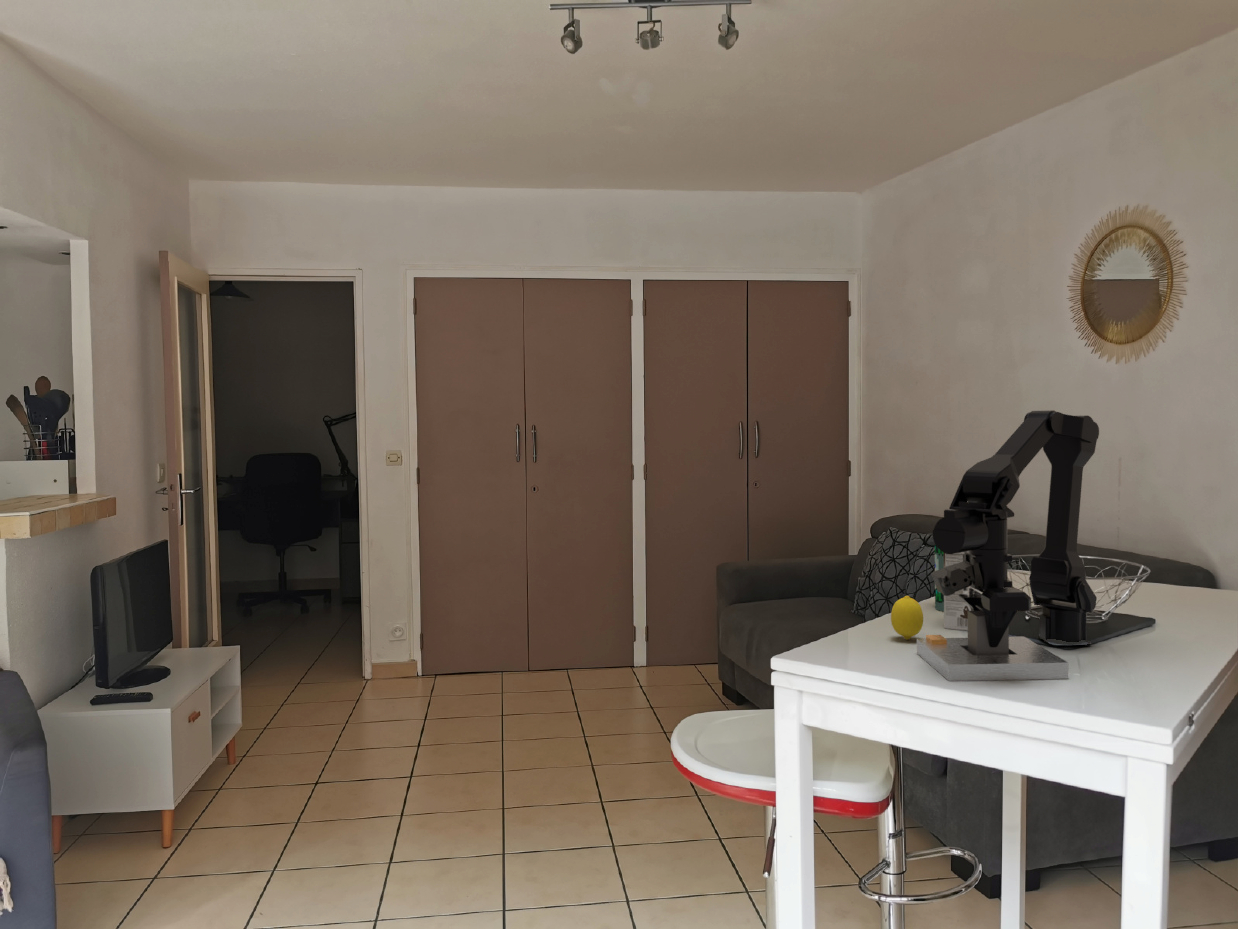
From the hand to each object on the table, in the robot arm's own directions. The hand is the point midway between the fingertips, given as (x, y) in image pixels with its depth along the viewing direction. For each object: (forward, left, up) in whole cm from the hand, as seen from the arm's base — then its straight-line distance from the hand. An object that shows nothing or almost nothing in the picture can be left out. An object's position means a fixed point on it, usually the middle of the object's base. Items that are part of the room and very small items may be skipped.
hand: (988, 643), depth 146 cm
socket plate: (0, 0, -4) cm, 4 cm away
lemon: (+8, -17, -4) cm, 19 cm away
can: (-8, -41, -4) cm, 42 cm away
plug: (0, 0, -2) cm, 2 cm away
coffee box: (-6, -27, -4) cm, 28 cm away
